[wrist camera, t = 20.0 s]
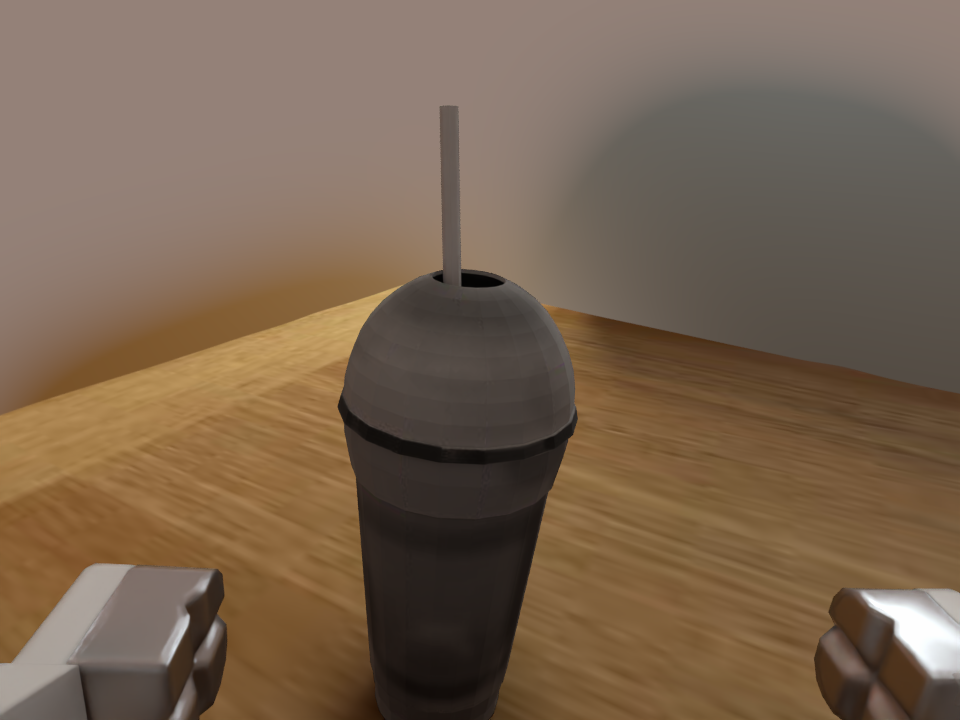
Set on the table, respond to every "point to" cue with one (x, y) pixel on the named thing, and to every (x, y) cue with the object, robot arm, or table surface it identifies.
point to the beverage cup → (452, 470)
